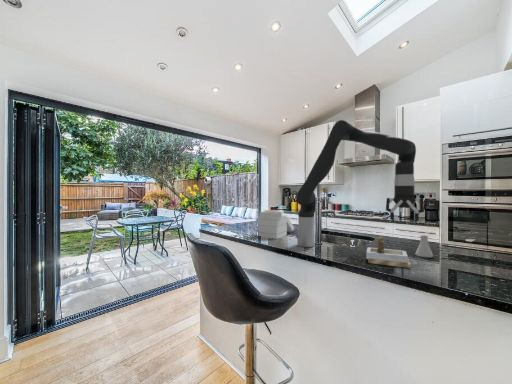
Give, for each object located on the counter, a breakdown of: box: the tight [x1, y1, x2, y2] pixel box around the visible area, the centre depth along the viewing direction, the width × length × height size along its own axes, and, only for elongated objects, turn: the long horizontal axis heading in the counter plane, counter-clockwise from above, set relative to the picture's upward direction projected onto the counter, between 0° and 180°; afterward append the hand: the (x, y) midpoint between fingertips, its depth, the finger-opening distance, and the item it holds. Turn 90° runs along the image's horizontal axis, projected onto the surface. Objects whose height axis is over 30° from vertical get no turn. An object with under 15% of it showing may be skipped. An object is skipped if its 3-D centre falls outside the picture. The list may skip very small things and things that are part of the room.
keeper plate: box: [367, 236, 411, 269], centre depth 108 cm, size 16×12×11 cm
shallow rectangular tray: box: [365, 246, 409, 263], centre depth 109 cm, size 16×10×3 cm, turn 62°
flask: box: [414, 234, 434, 258], centre depth 117 cm, size 7×7×10 cm
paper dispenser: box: [257, 209, 295, 240], centre depth 174 cm, size 19×30×18 cm, turn 146°
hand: (404, 221), depth 105 cm, fingers open, 8 cm apart
